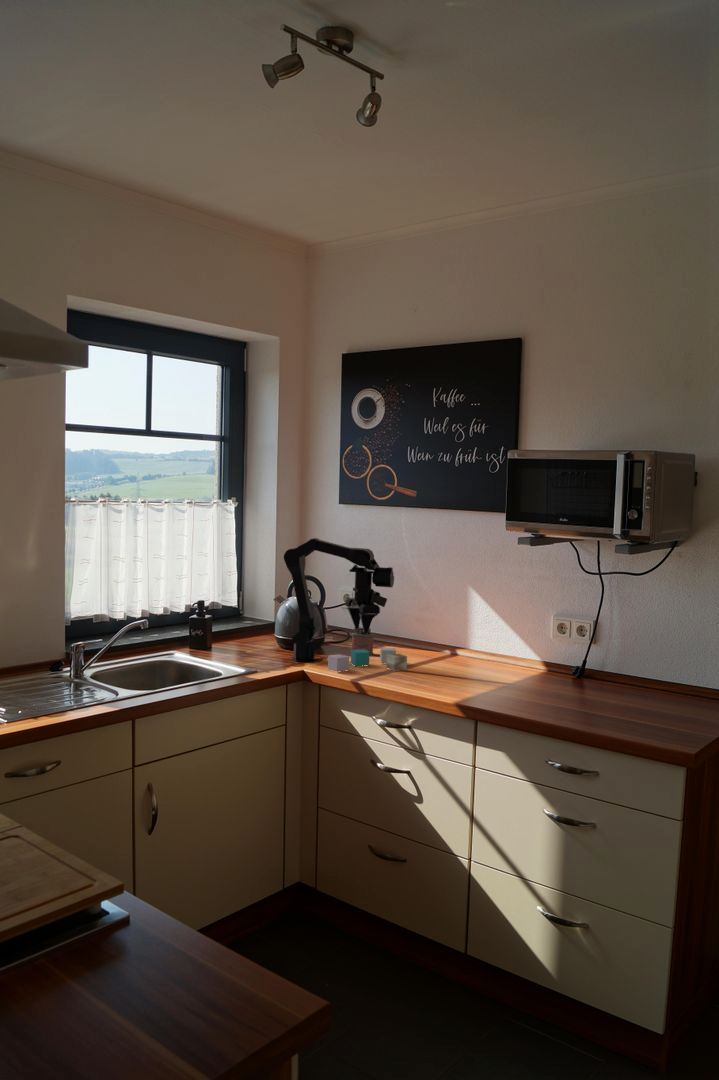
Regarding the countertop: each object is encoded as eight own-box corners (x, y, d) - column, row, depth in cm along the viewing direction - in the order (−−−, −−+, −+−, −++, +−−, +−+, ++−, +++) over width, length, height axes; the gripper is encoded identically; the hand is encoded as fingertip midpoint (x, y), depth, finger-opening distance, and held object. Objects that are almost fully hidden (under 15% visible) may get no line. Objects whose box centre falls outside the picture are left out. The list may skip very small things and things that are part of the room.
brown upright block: (373, 653, 322) (374, 626, 321) (372, 655, 319) (373, 628, 318) (351, 652, 323) (352, 625, 322) (350, 654, 320) (351, 627, 319)
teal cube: (355, 667, 298) (355, 652, 298) (350, 664, 303) (351, 649, 303) (369, 666, 300) (369, 652, 300) (364, 663, 305) (364, 649, 304)
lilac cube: (336, 673, 288) (337, 658, 288) (327, 670, 292) (328, 655, 292) (348, 671, 291) (349, 656, 291) (339, 668, 295) (340, 654, 295)
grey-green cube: (393, 672, 293) (394, 657, 293) (386, 668, 297) (386, 654, 297) (406, 670, 295) (407, 656, 295) (398, 667, 300) (399, 653, 299)
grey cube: (381, 664, 304) (381, 650, 304) (379, 661, 309) (380, 647, 309) (395, 664, 305) (396, 650, 304) (394, 661, 310) (394, 647, 309)
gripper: (395, 588, 294) (393, 634, 295) (375, 582, 312) (373, 625, 313) (364, 589, 290) (362, 635, 291) (345, 582, 308) (344, 626, 309)
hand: (361, 630), depth 301 cm, fingers open, 9 cm apart
